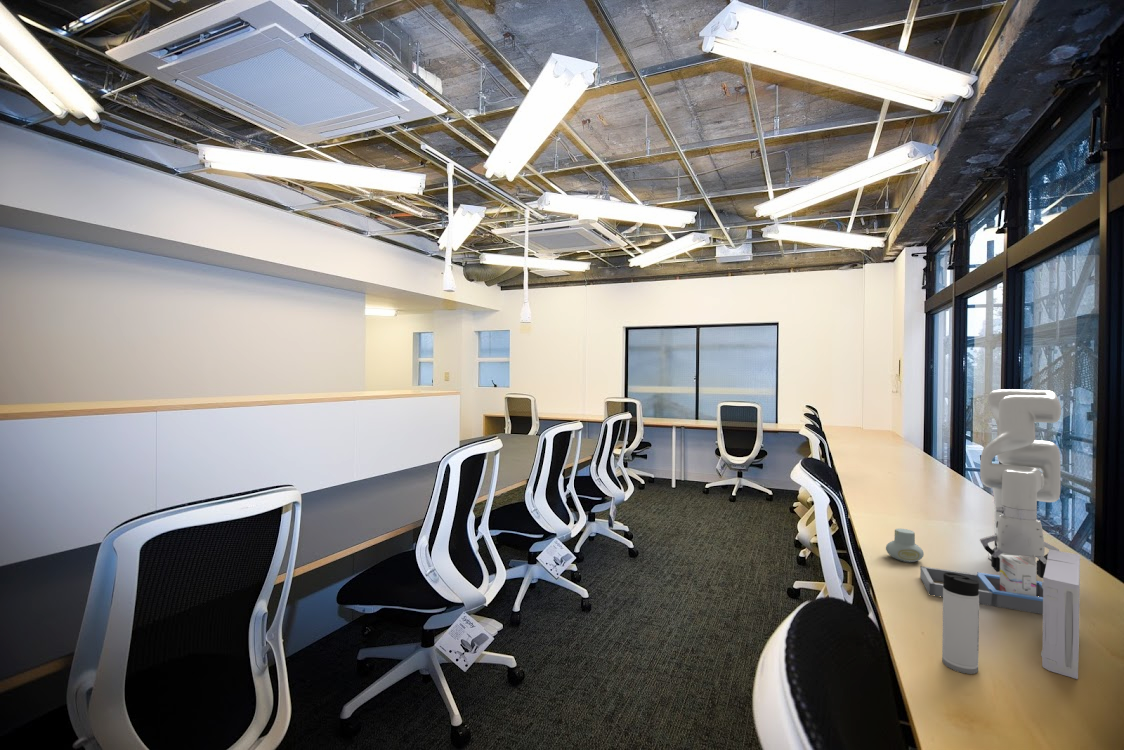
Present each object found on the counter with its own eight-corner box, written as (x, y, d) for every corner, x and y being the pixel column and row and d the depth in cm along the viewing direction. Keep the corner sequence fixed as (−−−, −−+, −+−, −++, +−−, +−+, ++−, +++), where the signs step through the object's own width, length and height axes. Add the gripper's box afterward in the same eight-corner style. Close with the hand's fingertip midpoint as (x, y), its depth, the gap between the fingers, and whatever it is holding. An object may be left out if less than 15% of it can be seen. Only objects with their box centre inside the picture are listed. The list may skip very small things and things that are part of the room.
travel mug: (933, 659, 116) (934, 570, 116) (960, 658, 116) (961, 569, 116) (957, 675, 109) (958, 581, 109) (986, 674, 110) (987, 580, 110)
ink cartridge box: (998, 593, 152) (998, 543, 152) (1018, 595, 150) (1018, 545, 150) (1015, 606, 143) (1016, 553, 143) (1037, 608, 142) (1037, 554, 142)
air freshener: (918, 557, 182) (918, 528, 182) (927, 565, 174) (927, 535, 174) (882, 553, 185) (883, 526, 185) (890, 561, 177) (890, 532, 177)
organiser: (920, 576, 164) (920, 563, 164) (1043, 595, 150) (1043, 581, 150) (929, 595, 150) (929, 581, 150) (1066, 618, 136) (1066, 602, 136)
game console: (1040, 668, 112) (1041, 577, 112) (1046, 627, 131) (1047, 549, 131) (1078, 680, 108) (1079, 585, 108) (1079, 635, 127) (1080, 554, 127)
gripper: (984, 512, 147) (983, 572, 147) (1064, 520, 140) (1064, 583, 140) (977, 506, 154) (976, 563, 154) (1053, 514, 146) (1052, 574, 146)
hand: (1018, 573), depth 147 cm, fingers open, 9 cm apart
